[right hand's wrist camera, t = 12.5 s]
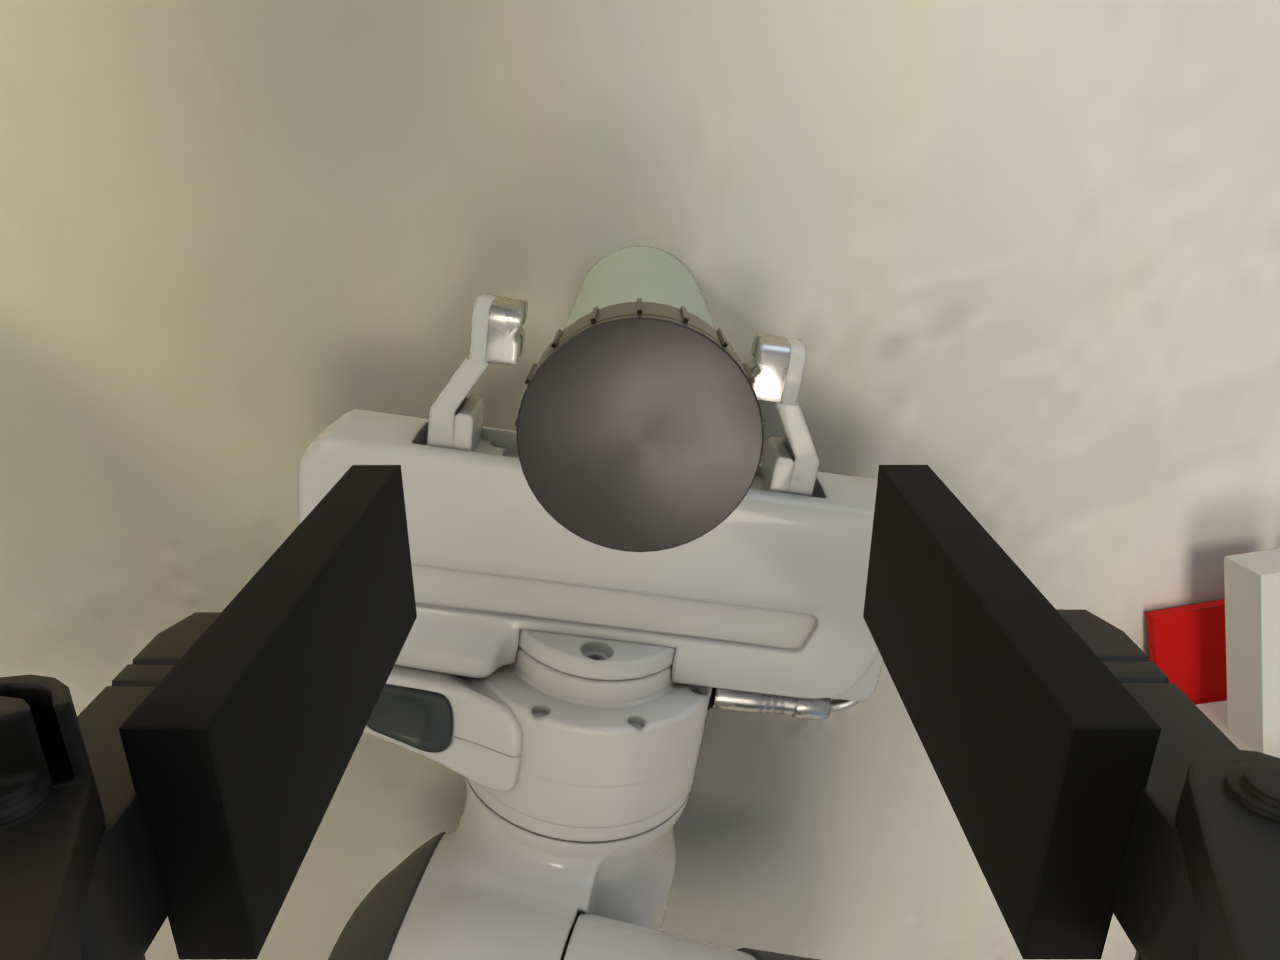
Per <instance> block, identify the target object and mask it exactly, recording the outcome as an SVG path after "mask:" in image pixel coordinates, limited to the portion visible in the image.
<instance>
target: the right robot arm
mask: <svg viewBox="0 0 1280 960" xmlns="http://www.w3.org/2000/svg"><path fill="white" fill-rule="evenodd" d="M416 618H417V612H416V603H415V594H414V584H413V575H412V566H411V556H410V547H409V537H408V528H407V519H406V509H405V500H404V491H403V481H402V472H401V465H352V466H351V467H350V468H349V469H348V471H347V472H346V473H345V474H344V475H343V476H342V477H341V478H340V480H339V481H338V482H337V483H336V484H335V485H334V486H333V487H332V489H331V490H330V491H329V492H328V493H327V494H326V495H325V496H324V498H323V499H322V500H321V501H320V502H319V503H318V504H317V506H316V507H315V508H314V509H313V510H312V511H311V512H310V513H309V515H308V516H307V517H306V518H305V519H304V520H303V521H302V522H301V524H300V525H299V526H298V527H297V528H296V529H295V530H294V531H293V533H292V534H291V535H290V536H289V537H288V538H287V539H286V540H285V542H284V543H283V544H282V545H281V546H280V547H279V548H278V549H277V551H276V552H275V553H274V554H273V555H272V556H271V557H270V558H269V560H268V561H267V562H266V563H265V564H264V565H263V566H262V568H261V569H260V570H259V571H258V572H257V573H256V574H255V575H254V577H253V578H252V579H251V580H250V581H249V582H248V583H247V584H246V586H245V587H244V588H243V589H242V590H241V591H240V592H239V593H238V595H237V596H236V597H235V598H234V599H233V600H232V601H231V602H230V604H229V605H228V606H227V607H226V608H225V609H224V610H223V611H222V613H194V614H192V615H190V616H189V617H187V618H185V619H183V620H182V621H180V622H178V623H176V624H175V625H173V626H171V627H170V628H168V629H166V630H164V631H163V632H161V633H159V634H158V635H157V636H156V637H155V638H154V639H153V640H152V641H151V642H150V643H149V644H148V645H147V646H146V647H145V648H144V649H143V650H142V651H141V652H140V653H139V654H138V655H137V656H136V657H135V658H134V659H133V664H132V665H127V666H126V667H125V668H124V669H123V670H122V671H121V672H120V673H119V674H118V675H117V677H116V678H115V679H114V680H113V681H112V686H107V687H106V688H105V689H104V690H103V691H102V692H101V693H100V694H99V695H98V696H97V697H96V698H95V699H94V700H93V701H92V702H91V703H90V704H89V705H88V706H87V707H86V708H85V709H84V710H83V711H82V712H81V713H80V714H79V715H78V716H77V715H76V712H75V708H74V705H73V701H72V698H71V694H70V690H69V687H67V686H66V685H64V684H63V683H61V682H60V681H59V680H57V679H56V678H51V677H44V676H37V675H22V676H11V677H1V678H0V960H146V959H145V955H144V954H145V952H146V950H147V949H148V947H149V946H150V944H151V942H152V941H153V939H154V937H155V936H156V934H157V932H158V931H159V929H160V927H161V926H162V924H163V923H164V921H165V919H166V918H167V916H168V918H169V922H170V926H171V930H172V933H173V937H174V941H175V945H176V949H177V952H178V956H179V959H257V957H258V955H259V953H260V951H261V949H262V947H263V944H264V942H265V940H266V938H267V936H268V934H269V932H270V930H271V927H272V925H273V923H274V921H275V919H276V917H277V915H278V912H279V910H280V908H281V906H282V904H283V902H284V900H285V898H286V895H287V893H288V891H289V889H290V887H291V885H292V883H293V880H294V878H295V876H296V874H297V872H298V870H299V868H300V866H301V863H302V861H303V859H304V857H305V855H306V853H307V851H308V848H309V846H310V844H311V842H312V840H313V838H314V836H315V833H316V831H317V829H318V827H319V825H320V823H321V821H322V819H323V816H324V814H325V812H326V810H327V808H328V806H329V804H330V801H331V799H332V797H333V795H334V793H335V791H336V789H337V787H338V784H339V782H340V780H341V778H342V776H343V774H344V772H345V769H346V767H347V765H348V763H349V761H350V759H351V757H352V755H353V752H354V750H355V748H356V746H357V744H358V742H359V740H360V737H361V735H362V733H363V731H364V729H365V727H366V725H367V723H368V720H369V718H370V716H371V714H372V712H373V710H374V708H375V705H376V703H377V701H378V699H379V697H380V695H381V693H382V690H383V688H384V686H385V684H386V682H387V680H388V678H389V676H390V673H391V671H392V669H393V667H394V665H395V663H396V661H397V658H398V656H399V654H400V652H401V650H402V648H403V646H404V644H405V641H406V639H407V637H408V635H409V633H410V631H411V629H412V626H413V624H414V622H415V620H416ZM863 618H864V620H865V622H866V624H867V626H868V629H869V631H870V633H871V635H872V637H873V639H874V641H875V644H876V646H877V648H878V650H879V652H880V654H881V656H882V658H883V661H884V663H885V665H886V667H887V669H888V671H889V673H890V676H891V678H892V680H893V682H894V684H895V686H896V688H897V690H898V693H899V695H900V697H901V699H902V701H903V703H904V705H905V708H906V710H907V712H908V714H909V716H910V718H911V720H912V723H913V725H914V727H915V729H916V731H917V733H918V735H919V737H920V740H921V742H922V744H923V746H924V748H925V750H926V752H927V755H928V757H929V759H930V761H931V763H932V765H933V767H934V769H935V772H936V774H937V776H938V778H939V780H940V782H941V784H942V787H943V789H944V791H945V793H946V795H947V797H948V799H949V801H950V804H951V806H952V808H953V810H954V812H955V814H956V816H957V819H958V821H959V823H960V825H961V827H962V829H963V831H964V833H965V836H966V838H967V840H968V842H969V844H970V846H971V848H972V851H973V853H974V855H975V857H976V859H977V861H978V863H979V866H980V868H981V870H982V872H983V874H984V876H985V878H986V880H987V883H988V885H989V887H990V889H991V891H992V893H993V895H994V898H995V900H996V902H997V904H998V906H999V908H1000V910H1001V912H1002V915H1003V917H1004V919H1005V921H1006V923H1007V925H1008V927H1009V930H1010V932H1011V934H1012V936H1013V938H1014V940H1015V942H1016V944H1017V947H1018V949H1019V951H1020V953H1021V955H1022V957H1023V959H1101V956H1102V952H1103V949H1104V945H1105V941H1106V937H1107V933H1108V930H1109V926H1110V922H1111V918H1112V915H1113V913H1114V915H1115V916H1116V918H1117V920H1118V921H1119V923H1120V924H1121V926H1122V928H1123V929H1124V931H1125V933H1126V934H1127V936H1128V937H1129V939H1130V941H1131V942H1132V944H1133V946H1134V947H1135V949H1136V951H1137V952H1136V955H1135V959H1134V960H1280V758H1277V757H1274V756H1271V755H1267V754H1264V753H1261V752H1257V751H1248V750H1239V749H1238V748H1237V747H1236V746H1235V745H1234V744H1233V743H1232V742H1231V741H1230V740H1229V739H1228V738H1227V736H1226V735H1225V734H1224V733H1223V732H1222V731H1221V730H1220V729H1219V728H1218V727H1217V726H1216V725H1215V724H1214V723H1213V722H1212V721H1211V720H1210V719H1209V718H1208V717H1207V716H1206V715H1205V714H1204V713H1203V712H1202V711H1201V710H1200V709H1199V708H1198V707H1197V706H1196V705H1195V704H1194V703H1193V702H1192V701H1191V700H1190V699H1189V698H1188V697H1187V696H1186V695H1185V694H1184V693H1183V692H1182V691H1181V690H1180V689H1179V688H1178V687H1177V686H1176V685H1175V684H1174V683H1169V678H1168V677H1167V676H1166V675H1165V674H1164V673H1163V671H1162V670H1161V669H1160V668H1159V667H1158V666H1157V665H1156V664H1155V663H1154V662H1148V656H1147V655H1146V654H1145V653H1144V652H1143V651H1142V650H1141V649H1140V648H1139V647H1138V646H1137V645H1136V644H1135V643H1134V642H1133V641H1132V640H1131V639H1130V638H1129V637H1128V636H1127V635H1126V634H1125V633H1124V632H1123V631H1122V630H1120V629H1118V628H1116V627H1115V626H1113V625H1111V624H1109V623H1108V622H1106V621H1104V620H1102V619H1101V618H1099V617H1097V616H1095V615H1094V614H1092V613H1090V612H1088V611H1087V610H1056V609H1055V608H1054V607H1053V606H1052V605H1051V604H1050V602H1049V601H1048V600H1047V599H1046V598H1045V597H1044V596H1043V595H1042V593H1041V592H1040V591H1039V590H1038V589H1037V588H1036V587H1035V586H1034V584H1033V583H1032V582H1031V581H1030V580H1029V579H1028V578H1027V577H1026V575H1025V574H1024V573H1023V572H1022V571H1021V570H1020V569H1019V568H1018V566H1017V565H1016V564H1015V563H1014V562H1013V561H1012V560H1011V558H1010V557H1009V556H1008V555H1007V554H1006V553H1005V552H1004V551H1003V549H1002V548H1001V547H1000V546H999V545H998V544H997V543H996V542H995V540H994V539H993V538H992V537H991V536H990V535H989V534H988V533H987V531H986V530H985V529H984V528H983V527H982V526H981V525H980V524H979V522H978V521H977V520H976V519H975V518H974V517H973V516H972V515H971V513H970V512H969V511H968V510H967V509H966V508H965V507H964V506H963V504H962V503H961V502H960V501H959V500H958V499H957V498H956V496H955V495H954V494H953V493H952V492H951V491H950V490H949V489H948V487H947V486H946V485H945V484H944V483H943V482H942V481H941V480H940V478H939V477H938V476H937V475H936V474H935V473H934V472H933V471H932V469H931V468H930V467H929V466H928V465H879V472H878V481H877V491H876V500H875V509H874V519H873V528H872V537H871V547H870V556H869V566H868V575H867V584H866V594H865V603H864V612H863Z"/></svg>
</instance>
